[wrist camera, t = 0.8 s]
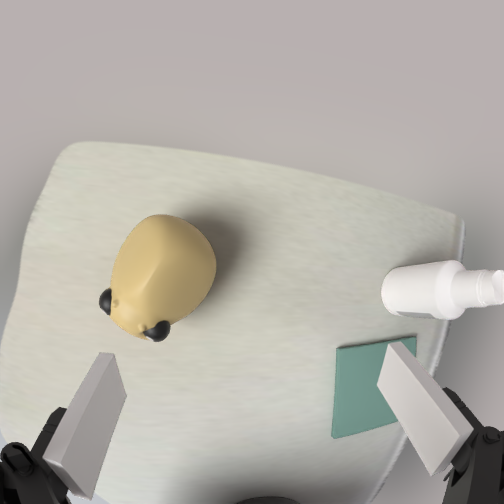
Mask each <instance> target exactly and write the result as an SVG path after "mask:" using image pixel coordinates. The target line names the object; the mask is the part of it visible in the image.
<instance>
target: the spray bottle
mask: <svg viewBox="0 0 504 504" xmlns="http://www.w3.org/2000/svg"><path fill="white" fill-rule="evenodd" d="M381 297H382V301H383V304H384V306H385V307H386V309H387V310H388V311H389V312H390V313H392V314H394V315H398V316H407V317H419V318H432V319H445V320H452V319H456V318H458V317H459V316H461V315H462V314H463V312H464V311H465V309H466V308H471V307H487V306H489V305H501V304H503V303H504V271H503V270H494V271H490V270H486V269H483V270H474V271H472V270H466V268H465V267H464V266H463V265H462V264H461V263H460V262H458V261H456V260H447V261H440V262H433V263H426V264H419V265H412V266H405V267H398V268H395V269H393V270H391V271H390V272H389V273H388V274H387V275H386V276H385V279H384V281H383V283H382V288H381Z"/></svg>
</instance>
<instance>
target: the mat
mask: <svg viewBox="0 0 504 504" xmlns="http://www.w3.org/2000/svg"><path fill="white" fill-rule="evenodd" d="M400 341H401V342H402V343H403V344H404V345H405V347H406V348H407V349H408V350H409V351H410V352H411V353H412V355H413V356H414V357H415V354H416V337H408V338H402V339H397V340H391V341H385V342H379V343H373V344H366V345H359V346H352V347H344V348H337V350H336V377H335V396H334V410H333V423H332V434H331V436H332V437H333V438H334V439H336V438H340V437H345V436H349V435H353V434H357V433H360V432H364V431H368V430H371V429H374V428H378V427H381V426H384V425H388V424H391V423H394V422H397V421H398V419H397V418H396V416H395V414H394V413H393V411H392V409H391V408H390V406H389V404H388V403H387V401H386V399H385V398H384V396H383V394H382V393H381V391H380V390H379V388H378V386H377V382H378V379H379V376H380V372H381V369H382V365H383V362H384V358H385V354H386V351H387V347H388V343H394V342H400Z"/></svg>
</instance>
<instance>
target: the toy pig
mask: <svg viewBox="0 0 504 504" xmlns="http://www.w3.org/2000/svg"><path fill="white" fill-rule="evenodd" d="M215 274H216V258H215V254H214V251H213V249H212V247H211V245H210V243H209V241H208V240H207V239H206V237H205V236H204V235H203V234H202V233H201V232H200V231H199V230H198V229H197V228H196V227H194V226H193V225H192V224H190V223H188V222H187V221H185V220H183V219H180V218H177V217H174V216H170V215H153V216H150V217H147V218H146V219H144V220H143V221H141V222H140V223H139V224H138V225H137V226H136V227H135V228H134V229H133V230H132V232H131V233H130V234H129V236H128V237H127V238H126V240H125V242H124V243H123V245H122V247H121V249H120V251H119V253H118V255H117V258H116V260H115V263H114V267H113V272H112V278H111V286H110V287H109V288H108V289H106V290H105V291H104V292H103V293H102V294H101V296H100V299H99V305H100V308H101V309H102V311H103V312H104V313H106V314H107V315H109V316H110V318H111V319H112V320H113V321H114V322H115V323H116V324H117V325H118V326H119V327H120V328H122V329H123V330H125V331H126V332H128V333H129V334H131V335H133V336H136V337H138V338H142V339H146V340H151V341H154V342H160V341H162V340H164V339H165V338H166V337H167V336H168V334H169V332H170V325H172V324H174V323H175V322H177V321H179V320H181V319H183V318H184V317H186V316H187V315H189V314H190V313H191V312H192V311H193V310H195V309H196V308H197V307H198V305H199V304H200V303H201V302H202V301H203V299H204V298H205V297H206V295H207V294H208V292H209V290H210V288H211V286H212V284H213V281H214V278H215Z"/></svg>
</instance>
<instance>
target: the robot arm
mask: <svg viewBox="0 0 504 504" xmlns="http://www.w3.org/2000/svg"><path fill="white" fill-rule="evenodd" d="M377 386H378V388H379V390H380V391H381V393H382V394H383V396H384V398H385V399H386V401H387V403H388V404H389V406H390V408H391V409H392V411H393V413H394V414H395V416H396V418H397V419H398V421H399V423H400V424H401V426H402V428H403V429H404V431H405V433H406V434H407V436H408V438H409V439H410V441H411V443H412V445H413V446H414V448H415V450H416V451H417V453H418V455H419V457H420V458H421V460H422V462H423V463H424V465H425V467H426V469H427V471H428V472H429V474H430V476H433V475H435V474H437V473H439V472H441V471H444V470H445V469H446V468H447V466H448V465H449V464H450V462H451V463H452V465H453V466H454V467H453V468H452V469H451V470H450V472H449V473H448V474H447V475H446V477H445V478H444V480H443V481H446V480H447V479H448V477H449V476H450V477H449V481H448V485H447V489H446V492H445V496H444V499H443V503H442V504H504V431H501V432H500V431H499V430H497V429H496V428H494V427H490V426H488V427H484V426H482V424H481V423H480V422H479V421H478V420H477V418H476V417H475V416H474V414H473V413H472V412H471V411H470V410H469V408H468V407H466V405H465V404H464V403H463V401H461V399H460V398H459V397H458V395H457V394H456V393H455V392H453V391H452V390H450V389H448V388H447V387H446V388H443V389H441V387H439V385H438V384H437V383H436V381H435V380H434V379H433V378H432V377H431V376H430V374H429V373H428V372H427V371H426V370H425V368H424V367H423V366H422V365H421V364H420V363H419V361H418V360H417V359H416V358H415V357H414V356H413V355H412V353H411V352H410V351H409V350H408V349H407V348H406V347H405V345H404V344H403V343H402V342H401V341H400V342H394V343H388V347H387V351H386V354H385V358H384V362H383V365H382V369H381V372H380V376H379V379H378V382H377ZM126 397H127V395H126V392H125V389H124V386H123V383H122V380H121V376H120V373H119V370H118V366H117V363H116V359H115V355H114V354H111V353H99V355H98V356H97V358H96V360H95V361H94V363H93V365H92V366H91V368H90V370H89V372H88V373H87V375H86V377H85V378H84V380H83V382H82V384H81V385H80V387H79V389H78V391H77V392H76V394H75V396H74V398H73V399H72V401H71V403H70V405H69V407H68V409H66V408H61V407H59V408H58V409H56V410H55V411H54V412H53V413H52V414H51V415H50V417H49V419H48V420H47V422H46V424H45V426H44V427H43V431H41V433H40V435H39V436H38V438H37V440H36V442H35V444H34V446H33V448H32V450H31V451H29V450H28V448H27V447H26V446H25V445H24V444H22V443H19V442H12V443H9V444H7V445H6V446H5V447H4V448H3V449H2V451H1V454H0V459H1V460H2V462H0V504H71V502H70V500H69V498H68V497H67V495H66V494H67V492H68V489H69V490H70V491H71V492H72V493H73V494H74V496H77V497H81V498H84V499H87V500H92V497H93V493H94V490H95V487H96V483H97V480H98V477H99V474H100V471H101V468H102V465H103V462H104V459H105V456H106V453H107V450H108V447H109V444H110V441H111V438H112V435H113V432H114V429H115V427H116V424H117V421H118V418H119V416H120V413H121V410H122V407H123V405H124V402H125V399H126ZM237 504H299V503H297V502H296V501H293V500H290V499H287V498H281V497H261V498H255V499H250V500H246V501H242V502H239V503H237Z"/></svg>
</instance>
